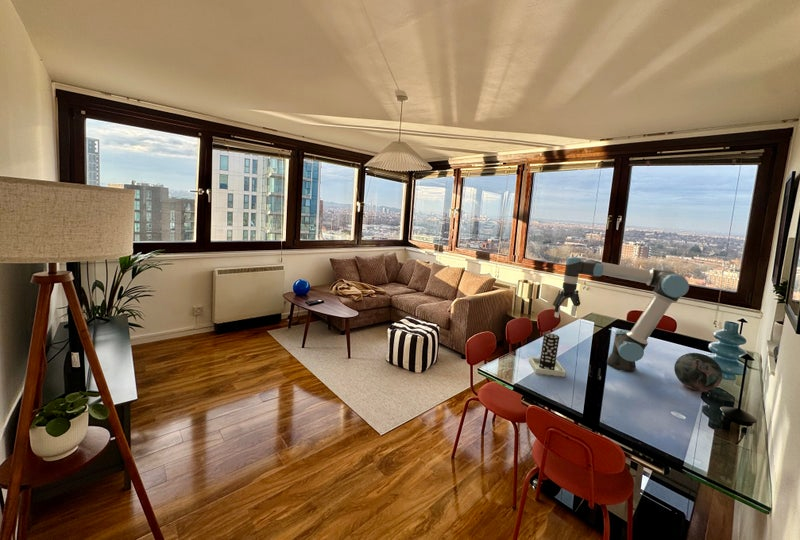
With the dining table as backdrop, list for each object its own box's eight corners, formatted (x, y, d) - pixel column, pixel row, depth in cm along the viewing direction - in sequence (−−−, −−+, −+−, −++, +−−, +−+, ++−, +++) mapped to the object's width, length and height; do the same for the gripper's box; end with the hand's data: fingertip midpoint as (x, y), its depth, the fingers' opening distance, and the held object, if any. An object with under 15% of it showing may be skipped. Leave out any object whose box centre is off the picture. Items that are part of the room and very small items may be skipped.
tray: (556, 364, 211) (557, 360, 210) (565, 377, 195) (565, 372, 194) (529, 361, 212) (529, 357, 212) (535, 373, 197) (536, 368, 196)
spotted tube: (545, 372, 198) (551, 338, 195) (536, 365, 206) (540, 333, 203) (557, 370, 201) (562, 338, 198) (547, 364, 209) (552, 332, 205)
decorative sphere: (662, 378, 202) (669, 345, 199) (697, 380, 202) (705, 348, 198) (689, 396, 183) (697, 360, 179) (728, 399, 182) (737, 364, 179)
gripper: (579, 280, 216) (574, 313, 220) (549, 281, 207) (544, 315, 211) (590, 283, 210) (584, 317, 213) (559, 284, 200) (554, 319, 204)
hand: (564, 316), depth 212 cm, fingers open, 13 cm apart
